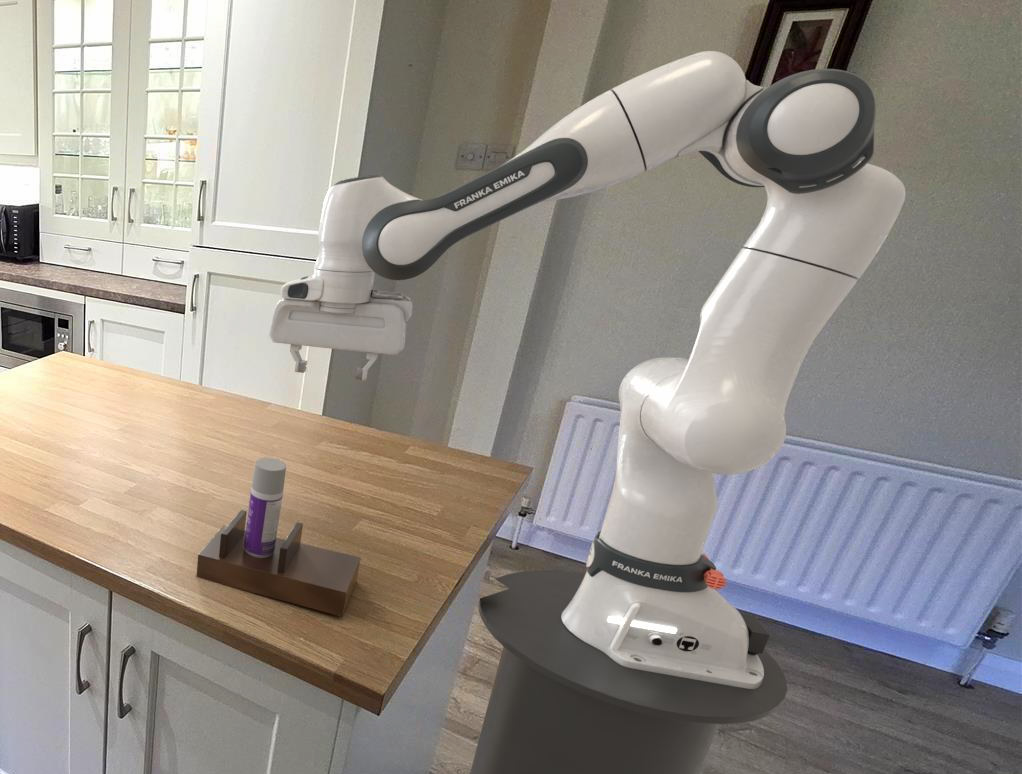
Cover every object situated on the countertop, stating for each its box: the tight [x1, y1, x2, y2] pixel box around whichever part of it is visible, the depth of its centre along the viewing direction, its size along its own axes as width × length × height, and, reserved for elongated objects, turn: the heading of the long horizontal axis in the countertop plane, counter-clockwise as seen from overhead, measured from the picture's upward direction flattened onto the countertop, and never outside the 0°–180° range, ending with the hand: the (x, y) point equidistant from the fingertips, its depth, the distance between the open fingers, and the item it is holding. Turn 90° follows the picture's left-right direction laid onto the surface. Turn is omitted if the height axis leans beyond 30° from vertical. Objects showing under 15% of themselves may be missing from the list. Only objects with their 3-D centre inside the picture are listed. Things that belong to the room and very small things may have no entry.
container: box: [244, 457, 287, 558], centre depth 112 cm, size 5×5×15 cm
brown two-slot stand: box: [195, 509, 362, 617], centre depth 114 cm, size 22×12×8 cm, turn 60°
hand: (329, 375), depth 118 cm, fingers open, 8 cm apart
